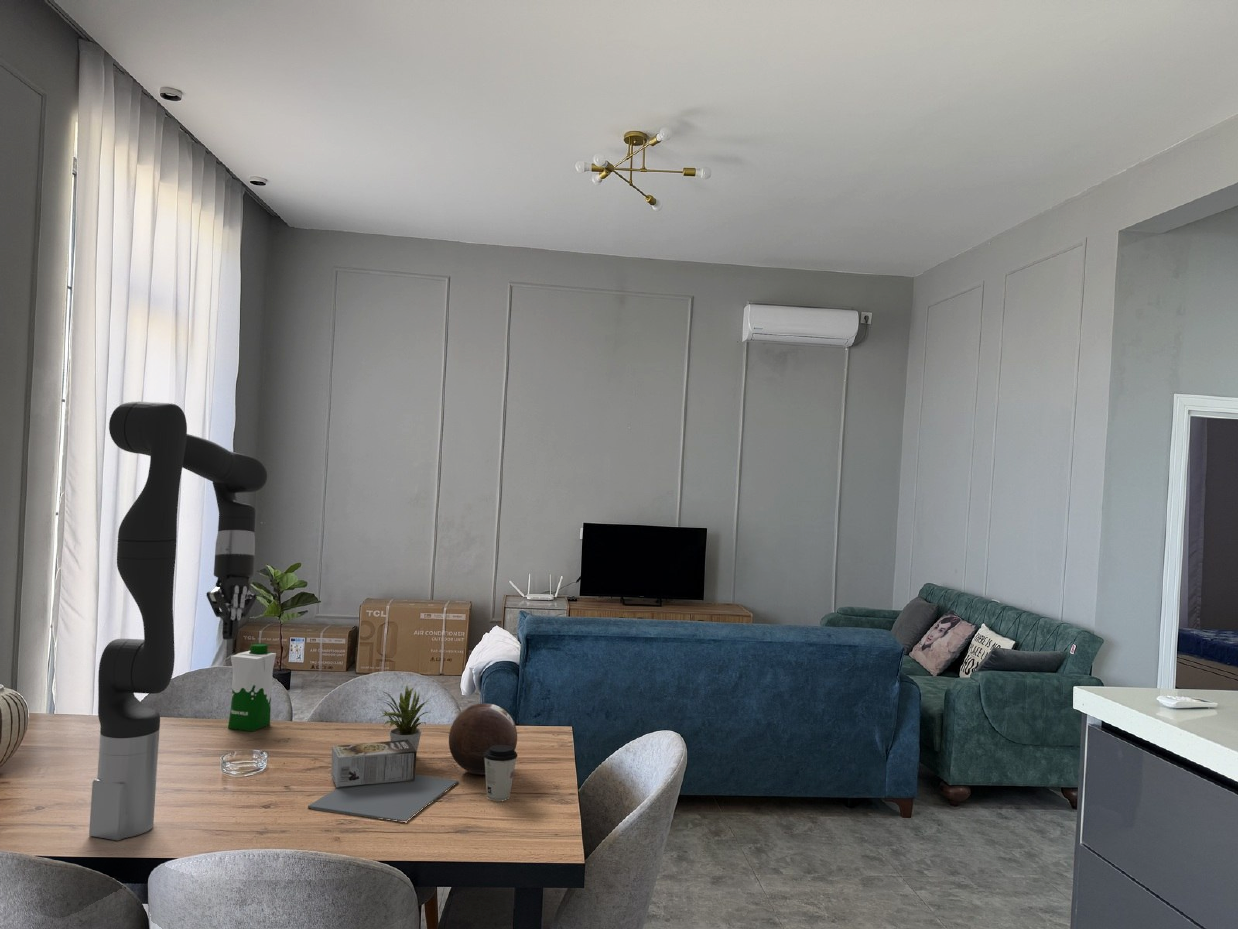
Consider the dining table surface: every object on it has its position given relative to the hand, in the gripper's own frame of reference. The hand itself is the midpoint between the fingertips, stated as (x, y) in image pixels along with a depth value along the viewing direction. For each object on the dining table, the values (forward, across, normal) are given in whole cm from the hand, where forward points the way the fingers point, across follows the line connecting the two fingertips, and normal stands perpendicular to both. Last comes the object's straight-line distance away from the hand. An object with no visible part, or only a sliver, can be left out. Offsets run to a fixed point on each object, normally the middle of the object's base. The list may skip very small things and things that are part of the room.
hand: (229, 639), depth 180 cm
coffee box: (+26, +14, -16) cm, 34 cm away
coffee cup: (+33, +21, -50) cm, 63 cm away
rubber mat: (+32, +14, -29) cm, 45 cm away
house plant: (+27, +36, -20) cm, 49 cm away
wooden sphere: (+30, +34, -40) cm, 61 cm away
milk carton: (+21, +41, +25) cm, 53 cm away
